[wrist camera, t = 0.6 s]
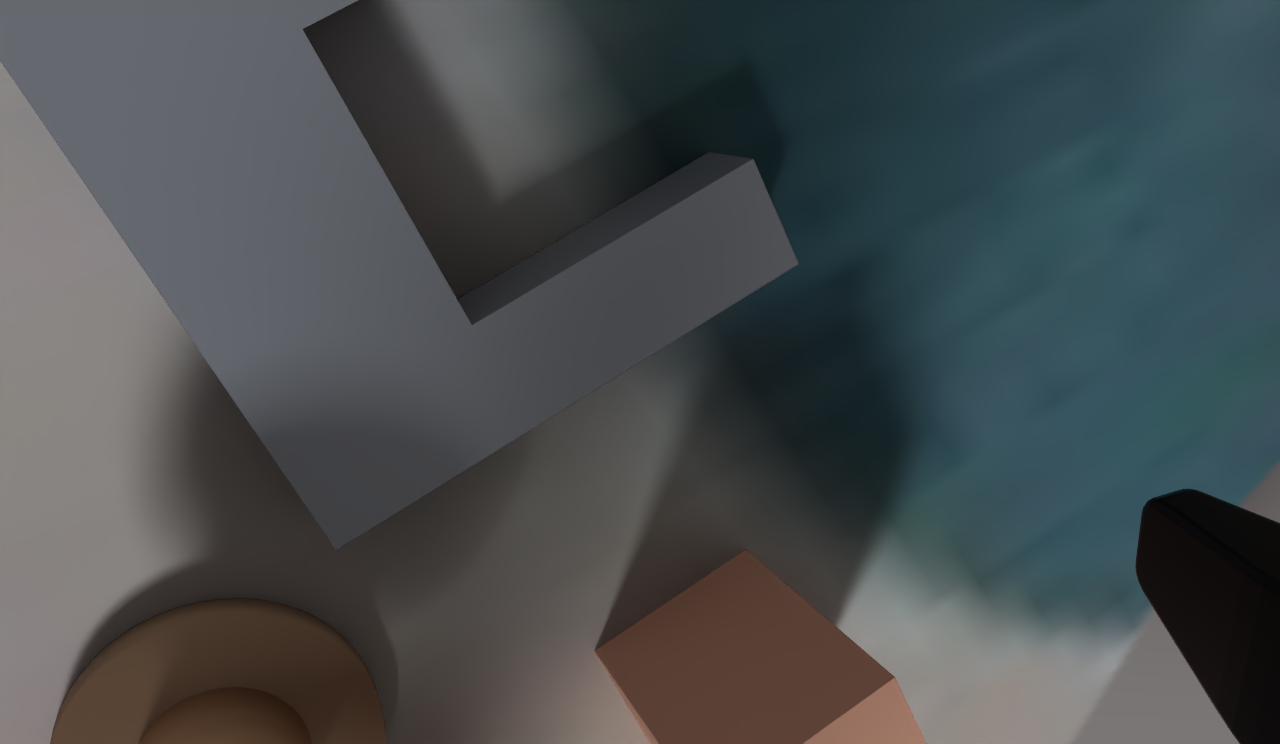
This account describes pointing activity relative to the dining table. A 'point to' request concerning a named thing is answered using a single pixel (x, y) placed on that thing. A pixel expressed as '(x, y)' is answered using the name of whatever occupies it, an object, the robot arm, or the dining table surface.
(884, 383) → the dining table surface
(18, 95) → the dining table surface
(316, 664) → the door knob
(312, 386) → the notched board
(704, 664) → the copper brown block
